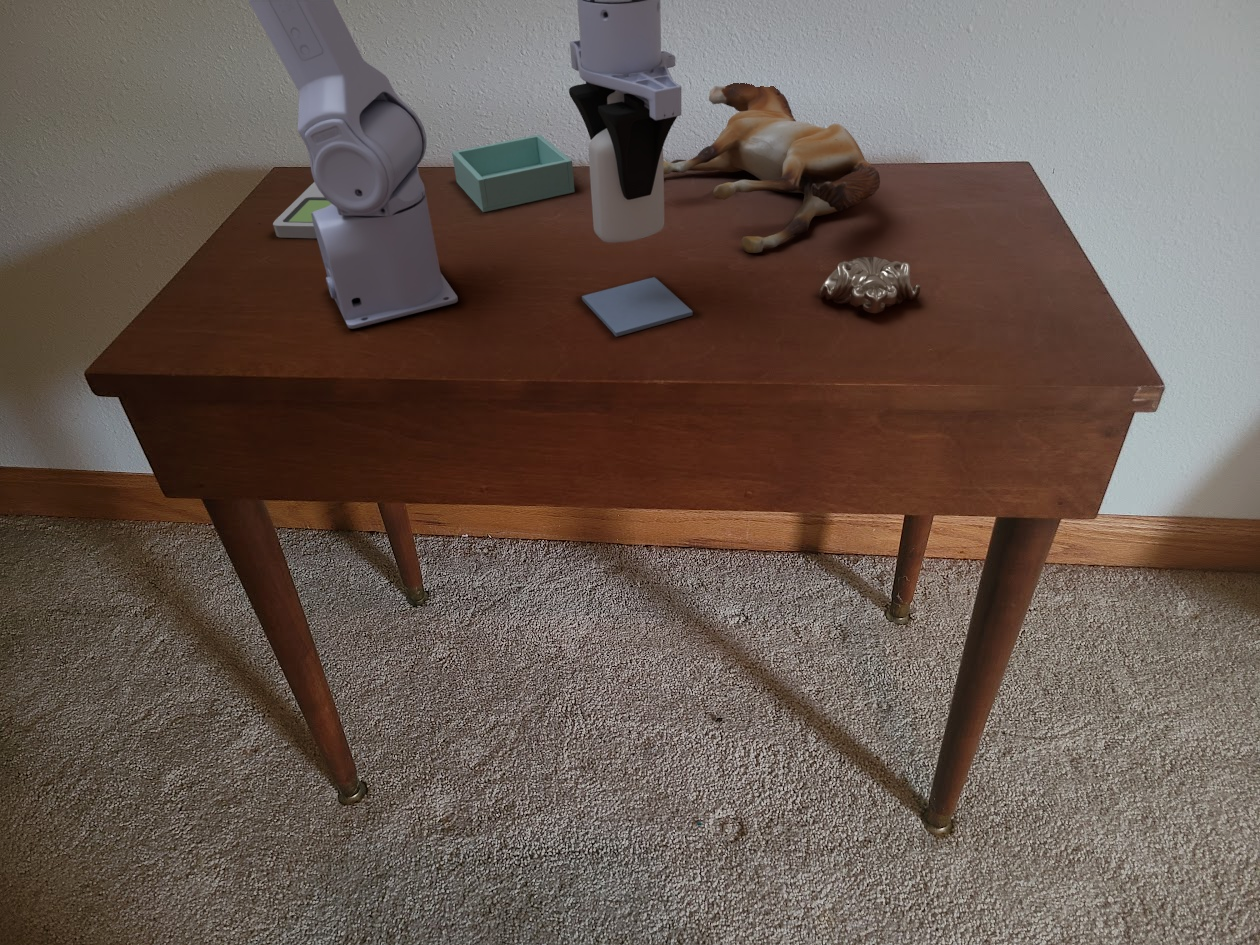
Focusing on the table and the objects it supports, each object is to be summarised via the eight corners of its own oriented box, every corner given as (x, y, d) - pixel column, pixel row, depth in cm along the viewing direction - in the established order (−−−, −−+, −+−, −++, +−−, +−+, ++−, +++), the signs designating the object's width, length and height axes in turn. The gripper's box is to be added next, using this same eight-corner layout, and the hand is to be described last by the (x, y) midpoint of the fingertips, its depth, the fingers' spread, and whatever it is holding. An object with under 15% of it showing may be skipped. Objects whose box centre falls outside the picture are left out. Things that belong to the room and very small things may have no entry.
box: (483, 212, 92) (478, 180, 90) (456, 182, 99) (451, 151, 97) (574, 192, 96) (572, 160, 93) (543, 164, 102) (540, 134, 100)
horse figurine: (598, 120, 95) (752, 63, 102) (609, 190, 100) (755, 131, 107) (793, 205, 74) (971, 125, 81) (795, 288, 79) (962, 207, 86)
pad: (616, 337, 73) (616, 332, 72) (581, 299, 78) (581, 295, 77) (692, 315, 75) (692, 311, 74) (654, 280, 80) (654, 276, 79)
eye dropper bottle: (598, 221, 75) (588, 68, 67) (665, 221, 74) (663, 67, 67) (591, 244, 71) (580, 86, 64) (662, 244, 71) (659, 85, 63)
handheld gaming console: (414, 165, 99) (366, 224, 87) (417, 180, 100) (369, 239, 88) (327, 164, 100) (269, 222, 89) (331, 178, 101) (273, 237, 90)
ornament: (822, 325, 73) (827, 284, 70) (815, 284, 78) (819, 245, 76) (924, 325, 72) (932, 284, 70) (910, 284, 77) (917, 244, 75)
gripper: (723, 6, 58) (718, 209, 67) (625, -32, 68) (632, 148, 77) (623, 22, 56) (631, 230, 64) (538, -19, 66) (555, 165, 75)
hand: (626, 187), depth 70 cm, fingers closed on eye dropper bottle, 3 cm apart
